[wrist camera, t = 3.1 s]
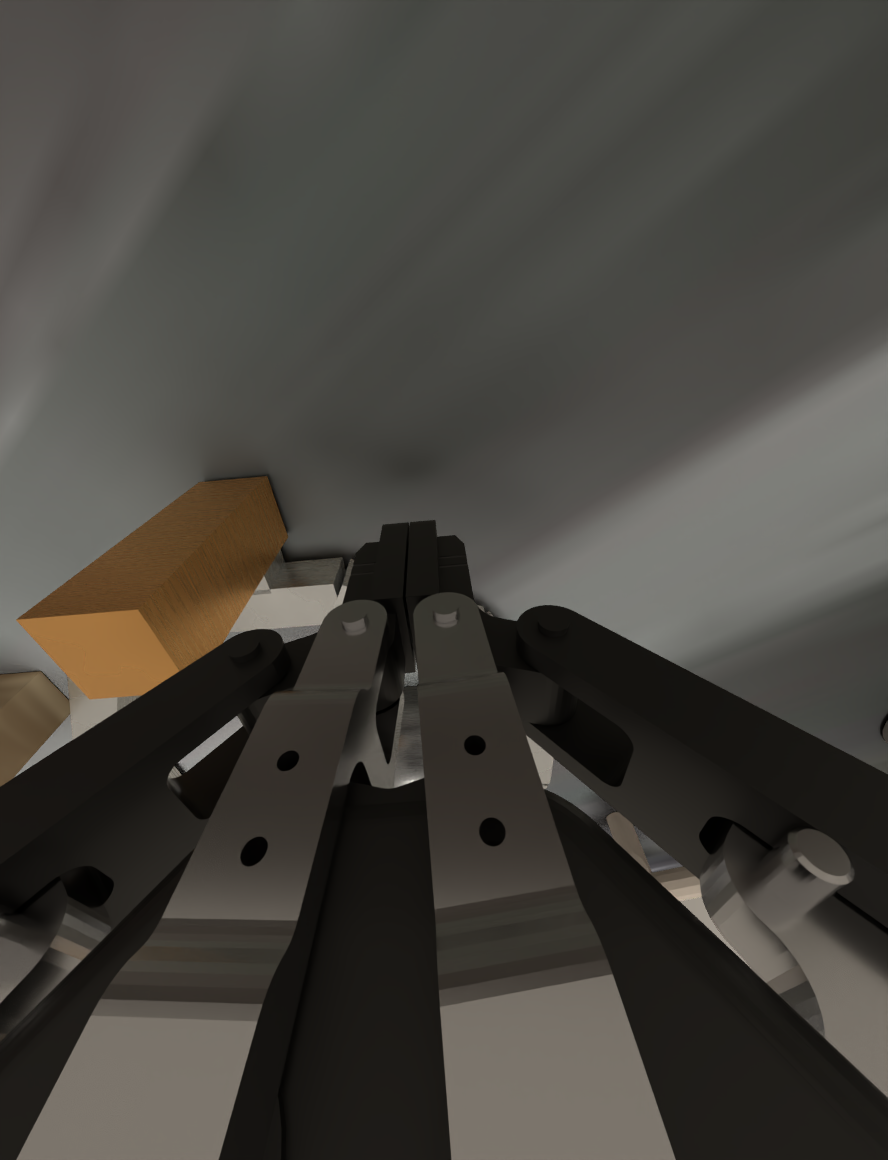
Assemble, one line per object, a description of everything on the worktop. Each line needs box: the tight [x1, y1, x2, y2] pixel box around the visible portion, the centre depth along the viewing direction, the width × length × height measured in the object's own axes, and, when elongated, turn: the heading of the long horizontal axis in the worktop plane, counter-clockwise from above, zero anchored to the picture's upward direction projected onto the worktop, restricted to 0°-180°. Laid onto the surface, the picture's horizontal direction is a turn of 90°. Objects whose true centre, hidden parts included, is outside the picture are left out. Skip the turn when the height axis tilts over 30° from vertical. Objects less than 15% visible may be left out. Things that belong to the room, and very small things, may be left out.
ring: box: [17, 476, 553, 789], centre depth 20 cm, size 26×30×8 cm
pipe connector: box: [606, 812, 702, 901], centre depth 28 cm, size 10×10×10 cm
